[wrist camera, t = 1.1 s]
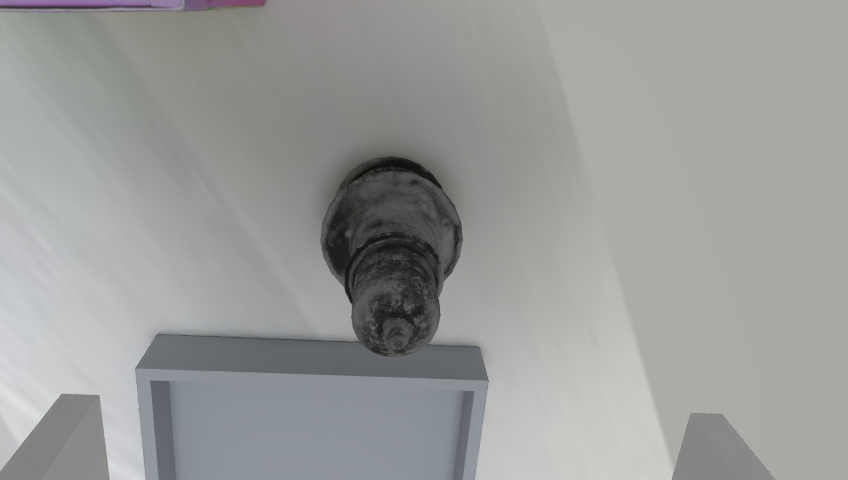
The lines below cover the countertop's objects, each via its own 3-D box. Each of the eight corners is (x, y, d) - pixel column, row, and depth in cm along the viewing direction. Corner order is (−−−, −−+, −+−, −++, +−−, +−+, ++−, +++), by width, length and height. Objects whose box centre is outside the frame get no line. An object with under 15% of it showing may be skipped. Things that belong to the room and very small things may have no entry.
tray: (157, 334, 31) (135, 368, 28) (479, 347, 32) (488, 380, 30) (174, 549, 36) (156, 596, 33) (452, 552, 37) (457, 597, 35)
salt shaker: (479, 212, 30) (538, 344, 19) (390, 292, 31) (396, 461, 20) (391, 123, 28) (398, 210, 17) (300, 212, 29) (251, 348, 18)
